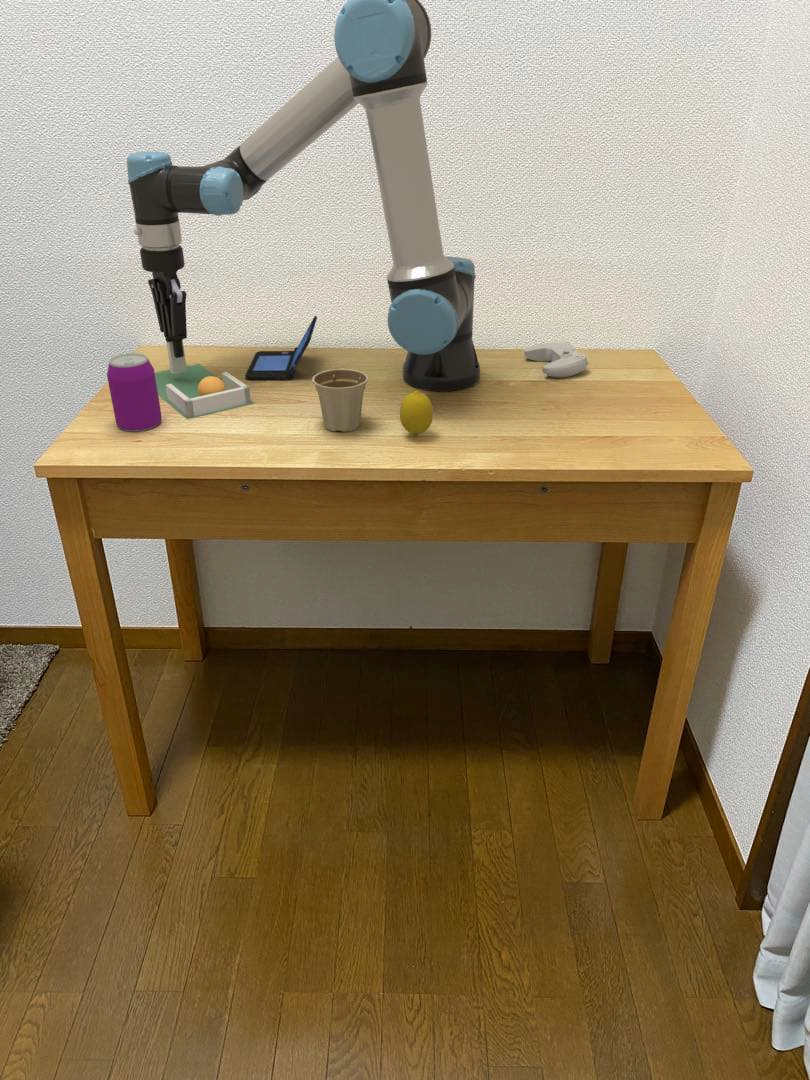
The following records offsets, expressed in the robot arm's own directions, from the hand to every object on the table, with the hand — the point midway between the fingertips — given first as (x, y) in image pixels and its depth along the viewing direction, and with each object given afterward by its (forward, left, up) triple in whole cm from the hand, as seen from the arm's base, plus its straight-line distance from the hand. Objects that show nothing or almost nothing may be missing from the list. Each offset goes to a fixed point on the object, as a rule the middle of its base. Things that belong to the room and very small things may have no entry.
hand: (178, 371), depth 165 cm
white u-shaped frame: (-14, 0, -2) cm, 14 cm away
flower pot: (-37, -15, -2) cm, 40 cm away
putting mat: (-7, 0, -2) cm, 7 cm away
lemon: (-48, -23, -2) cm, 53 cm away
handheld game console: (-5, -20, -3) cm, 21 cm away
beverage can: (-17, +14, -2) cm, 22 cm away
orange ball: (-15, 0, +1) cm, 15 cm away
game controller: (-36, -66, -3) cm, 75 cm away
